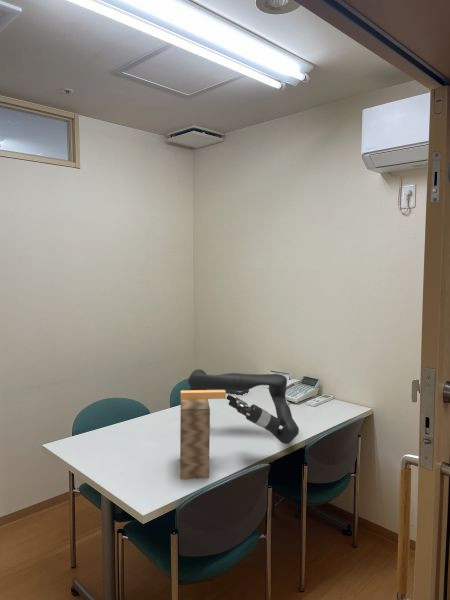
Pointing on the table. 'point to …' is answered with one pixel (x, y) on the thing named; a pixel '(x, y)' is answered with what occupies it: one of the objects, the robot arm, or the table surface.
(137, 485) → the table surface
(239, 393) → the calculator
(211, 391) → the rod
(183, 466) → the stand
